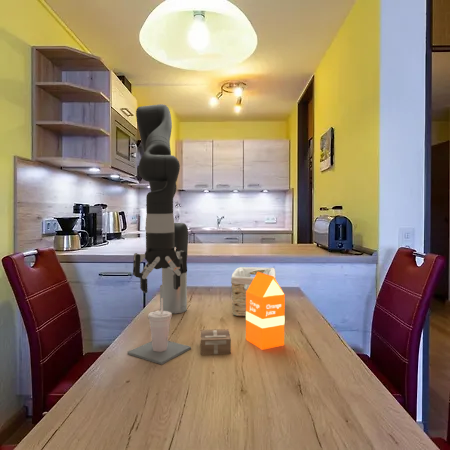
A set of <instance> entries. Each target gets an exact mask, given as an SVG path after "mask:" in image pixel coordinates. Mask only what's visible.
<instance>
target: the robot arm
mask: <svg viewBox="0 0 450 450" xmlns="http://www.w3.org/2000/svg"><path fill="white" fill-rule="evenodd" d="M135 117H136V124H137V128H138V132H139V136H140V140H141V141H140V142H141V145H142V149H143V153H142V156H141V158H140V160H139V162H138V174H139V176H140V177H141V179H142V180H143V181H145V182H148V184H149V189H150V191H148V193H147V194H146V199H145V201H146V205H145V207H146V211H145V212H146V215H145V216H146V217H145V230H144V231H145V252H144V253H138V252H135V253H134V254H133V262H132V263H133V264H132V265H133V266H132V275H133V276H134V277H136V278H139V282H140V285H139V287H140V290H141V291H142V292H143V294H147V293H148V278H147V277H148V276H149V274H150V273H152V272H153V270H154V269H155V270H161V284H160V286H159V311H161V298H163V311H168V312H171V313H172V314H182V313H185V312H186V311H187V310H188V309H187V307H188V302H187V301H188V298H187V297H188V295H187V294H188V292H187V291H188V290H187V289H188V287H187V286H188V285H187V283H188V281H187V279H188V278H187V275H188V263H187V262H188V248H189V247H188V244H189V229H188V225H187V224H186V223H184V222H175V217H174V199H175V198H174V197H175V195H176V193H177V190H178V189H177V181H178V178H179V174H180V169H181V168H180V167H181V165H180V162H179V159H178V158H177V157H176V156H175V155H172V152H171V142H170V141H171V136H172V135H171V134H172V128H173V125H172V115H171V111H170V109H169V107H168V106H167V105H166V104H160V103H159V104H152V105H151V104H150V105H142V106H138V107H137V108H136V110H135ZM144 260H146V264H145V265H144V268H143V269H142V271H141V263H142V262H143V261H144Z"/></svg>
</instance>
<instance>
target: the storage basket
mask: <svg viewBox="0 0 450 450" xmlns="http://www.w3.org/2000/svg"><path fill="white" fill-rule="evenodd" d="M257 272H260V273H263V274H267V275H270V276H274V278H275V279H276V280H277V272H276V269H275V268H274V267H258V266H257V267H255V266H254V267H249V266H248V267H247V266H246V267H244V266H239V267H237V268H236V269H234V271H233V272H232V274H231V278H230V284H231V294H232V296H231V299H232V303H231V304H232V315H233V316H238V317H246V291H247V290H248V288H249V286H250V284H251V283H252V281H253V279H254V277H255V276H256V274H257ZM251 275H255V276H251Z"/></svg>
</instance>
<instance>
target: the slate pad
mask: <svg viewBox="0 0 450 450" xmlns="http://www.w3.org/2000/svg"><path fill="white" fill-rule="evenodd" d="M189 350H192V346H190V345H187V344H182V343H178V342H174V341H169V340H168V343H167V349H166V350H165V351H162V352H156V351H153V346H152V340H151V341H148V342H147V343H144V344H142V345H140V346H138V347H136V348H133V349H131V350H129V351H127V355H129V356H132V357H135V358H137V359H138V358H139V359H142V360H146V361H148V362H152V363H156V364H159V365H163V364H166V363H168V362H169V361H171V360H173V359H175V358H177V357H178V356H181V355H182V354H184V353H186V352H188V351H189Z"/></svg>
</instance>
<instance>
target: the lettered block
mask: <svg viewBox="0 0 450 450" xmlns="http://www.w3.org/2000/svg"><path fill="white" fill-rule="evenodd" d="M231 338H232V337H231V334H230V331H229V328H226V329H225V328H222V329H220V328H219V329H218V328H217V329H216V328H215V329H200V355H224V354H225V355H229V354H230V355H231V353H232V351H231V350H232V339H231Z"/></svg>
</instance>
